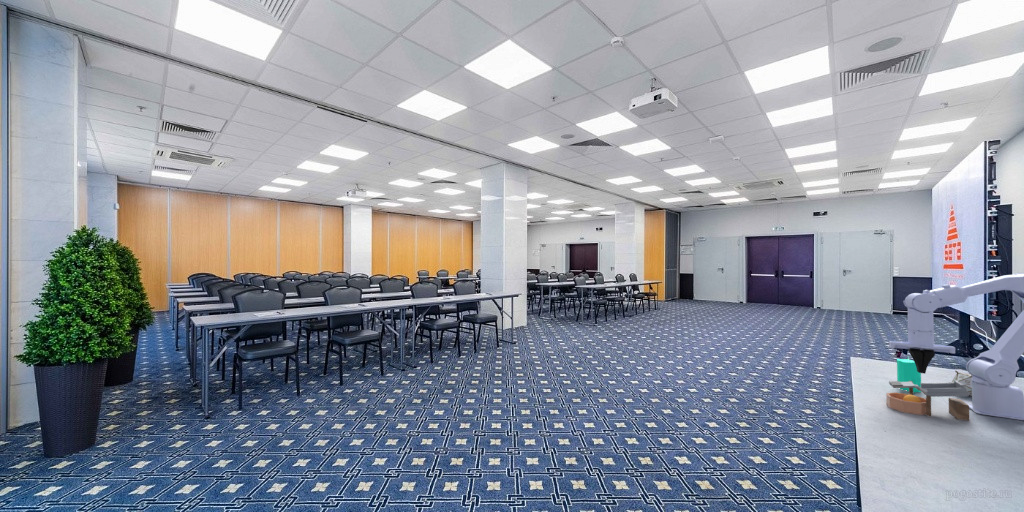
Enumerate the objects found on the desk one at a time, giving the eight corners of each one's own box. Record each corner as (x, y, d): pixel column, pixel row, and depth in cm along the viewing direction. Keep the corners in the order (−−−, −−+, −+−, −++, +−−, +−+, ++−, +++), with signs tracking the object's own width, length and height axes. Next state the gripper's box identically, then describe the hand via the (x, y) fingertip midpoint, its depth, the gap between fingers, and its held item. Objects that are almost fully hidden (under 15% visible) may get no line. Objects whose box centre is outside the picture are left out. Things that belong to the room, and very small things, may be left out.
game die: (972, 405, 131) (990, 382, 130) (984, 404, 124) (1002, 380, 124) (938, 387, 136) (955, 365, 136) (947, 385, 129) (965, 362, 129)
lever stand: (947, 403, 123) (947, 385, 123) (972, 422, 108) (971, 401, 109) (909, 398, 128) (908, 380, 128) (927, 416, 113) (927, 396, 114)
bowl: (923, 407, 120) (923, 396, 120) (934, 416, 113) (933, 405, 113) (884, 401, 125) (884, 390, 125) (892, 410, 118) (891, 399, 118)
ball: (897, 399, 122) (913, 408, 120) (901, 403, 118) (917, 412, 116) (907, 390, 121) (922, 399, 119) (911, 394, 117) (927, 403, 115)
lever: (948, 382, 122) (945, 373, 122) (968, 396, 110) (965, 385, 110) (889, 384, 130) (886, 375, 130) (902, 396, 117) (899, 386, 118)
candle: (926, 393, 133) (925, 358, 133) (906, 391, 134) (905, 358, 134) (912, 387, 139) (911, 354, 139) (893, 386, 140) (892, 354, 140)
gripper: (893, 330, 123) (893, 371, 123) (959, 334, 115) (960, 379, 115) (887, 326, 129) (887, 366, 129) (949, 331, 121) (950, 373, 121)
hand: (921, 372), depth 122 cm, fingers closed
